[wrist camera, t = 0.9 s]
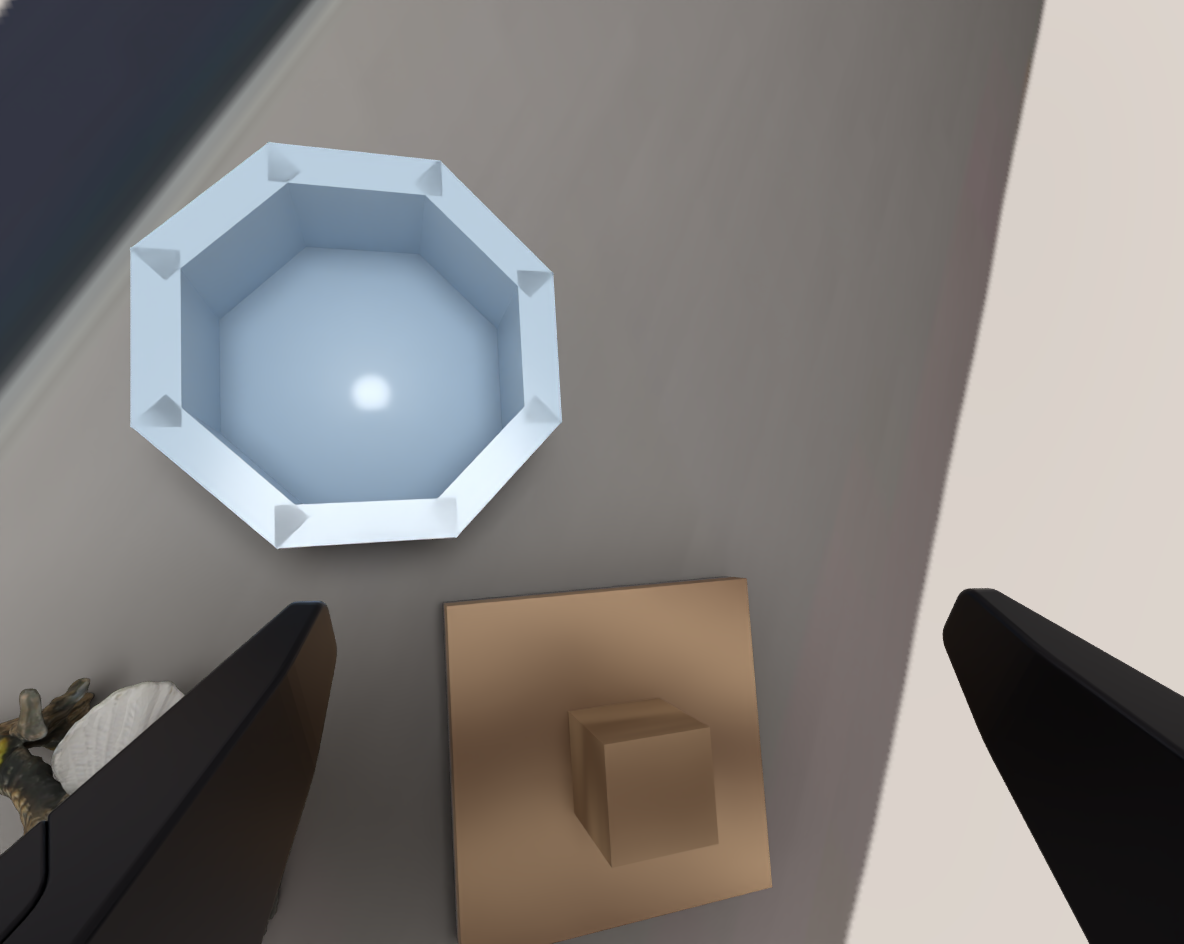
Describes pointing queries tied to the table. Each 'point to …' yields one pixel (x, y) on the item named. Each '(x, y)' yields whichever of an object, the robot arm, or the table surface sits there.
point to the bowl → (343, 347)
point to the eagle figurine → (73, 742)
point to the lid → (602, 758)
